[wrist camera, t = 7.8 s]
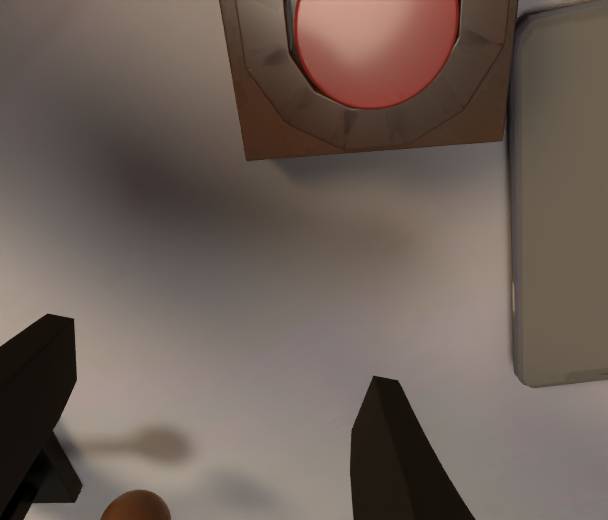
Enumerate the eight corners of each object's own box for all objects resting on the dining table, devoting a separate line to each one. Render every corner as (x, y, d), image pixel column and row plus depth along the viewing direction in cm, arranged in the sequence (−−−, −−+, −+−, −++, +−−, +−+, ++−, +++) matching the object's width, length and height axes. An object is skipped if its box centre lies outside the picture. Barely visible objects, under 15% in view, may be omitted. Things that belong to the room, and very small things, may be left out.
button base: (207, -148, 13) (171, -172, 10) (518, -190, 13) (575, -230, 10) (252, 143, 18) (236, 184, 15) (488, 124, 17) (521, 163, 14)
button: (290, -60, 12) (284, -59, 10) (448, -78, 11) (465, -81, 10) (305, 97, 14) (302, 116, 12) (441, 85, 13) (454, 103, 12)
